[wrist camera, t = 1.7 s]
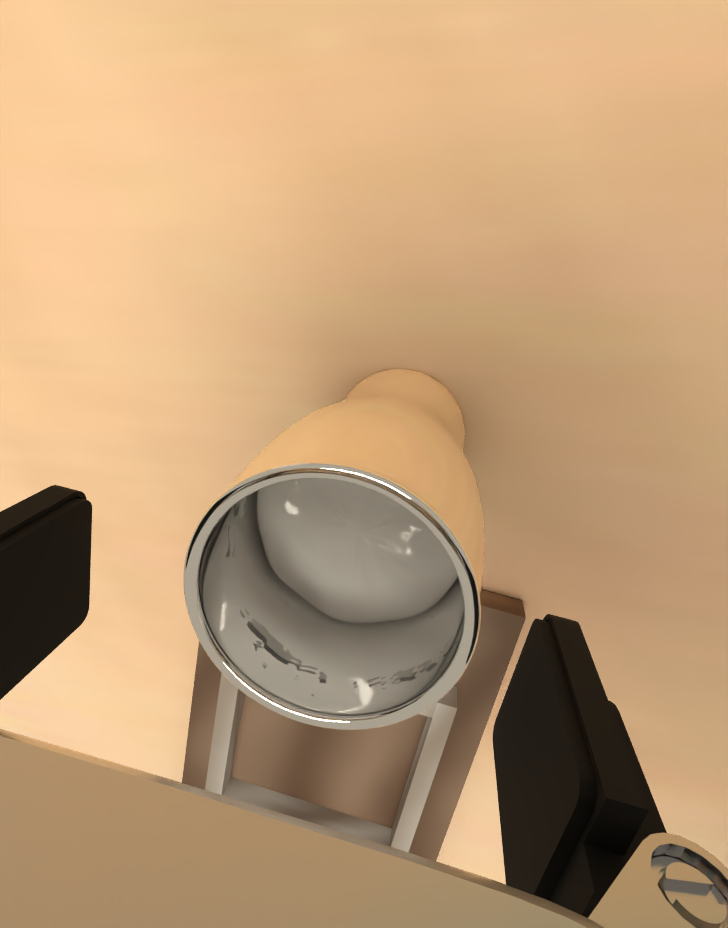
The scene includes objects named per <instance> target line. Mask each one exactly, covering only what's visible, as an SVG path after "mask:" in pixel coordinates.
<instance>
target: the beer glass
mask: <svg viewBox="0 0 728 928" xmlns="http://www.w3.org/2000/svg"><path fill="white" fill-rule="evenodd" d="M464 438H465V428H464V422H463V418H462V414H461V411H460V409H459V406H458V404H457V402H456V401H455V399H454V397H453V396H452V395H451V393H450V392H449V391H448V390H447V389H446V388H445V387H444V386H443V385H442V384H441V383H439V382H438V381H436V380H435V379H433V378H432V377H430V376H428V375H426V374H423V373H420V372H417V371H413V370H407V369H391V370H385V371H381V372H378V373H375V374H373V375H371V376H369V377H367V378H365V379H364V380H362V381H361V382H360V383H358V384H357V385H356V386H355V387H354V388H353V389H352V390H351V391H350V392H349V394H348V395H347V397H346V398H345V400H344V401H341V402H338V403H335V404H332V405H329V406H326V407H323V408H321V409H319V410H316V411H314V412H312V413H310V414H309V415H307V416H305V417H304V418H302V419H301V420H299V421H298V422H296V423H295V424H293V425H292V426H290V427H289V428H287V429H286V430H285V431H283V432H282V433H281V434H280V435H278V436H277V437H276V438H275V439H274V440H273V441H272V442H271V443H270V444H269V445H268V446H266V447H265V448H264V449H263V450H262V451H261V452H260V453H259V454H258V455H257V456H256V457H255V458H254V459H253V460H252V462H251V463H250V464H249V465H248V466H247V467H246V468H245V469H244V471H243V472H242V473H241V474H240V475H239V476H238V477H237V479H236V480H235V481H234V482H233V484H232V485H231V486H230V487H229V489H228V490H227V491H225V492H224V493H223V494H222V495H221V496H220V497H218V498H217V499H216V500H215V501H214V503H213V504H212V505H211V506H210V507H209V508H208V510H207V511H206V512H205V514H204V515H203V516H202V518H201V520H200V521H199V523H198V525H197V527H196V528H195V531H194V533H193V535H192V537H191V540H190V543H189V546H188V549H187V553H186V558H185V564H184V594H185V601H186V606H187V610H188V614H189V617H190V620H191V623H192V626H193V628H194V630H195V633H196V635H197V637H198V639H199V641H200V643H201V645H202V646H203V648H204V650H205V651H206V653H207V654H208V656H209V657H210V659H211V660H212V661H213V663H214V664H215V665H216V666H217V668H218V669H219V670H220V671H221V672H222V673H223V674H224V676H225V677H226V678H227V679H228V680H229V681H230V682H232V683H233V684H234V685H235V686H236V687H237V688H238V689H240V690H241V691H242V692H243V693H245V694H246V695H247V696H249V697H250V698H251V699H253V700H254V701H256V702H258V703H259V704H261V705H262V706H264V707H266V708H268V709H270V710H272V711H274V712H276V713H278V714H280V715H282V716H285V717H287V718H290V719H292V720H295V721H298V722H301V723H305V724H309V725H313V726H317V727H323V728H329V729H340V730H362V729H372V728H378V727H383V726H387V725H391V724H395V723H398V722H401V721H403V720H406V719H408V718H411V717H413V716H415V715H417V714H419V713H421V712H423V711H424V710H426V709H428V708H429V707H431V706H432V705H433V704H435V703H436V702H438V701H439V700H440V699H441V698H442V697H443V696H445V695H446V694H447V693H448V692H449V691H450V690H451V689H452V687H453V686H454V685H455V684H456V683H457V681H458V680H459V679H460V677H461V676H462V674H463V673H464V671H465V670H466V668H467V666H468V664H469V662H470V660H471V658H472V655H473V653H474V650H475V647H476V644H477V640H478V636H479V630H480V622H481V603H480V596H481V587H482V577H483V563H484V522H483V513H482V507H481V502H480V496H479V491H478V487H477V483H476V480H475V477H474V474H473V472H472V469H471V467H470V465H469V463H468V461H467V459H466V456H465V454H464V452H463V451H462V449H463V445H464Z"/></svg>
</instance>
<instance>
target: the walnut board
mask: <svg viewBox="0 0 728 928" xmlns="http://www.w3.org/2000/svg"><path fill="white" fill-rule="evenodd" d="M480 603H481V622H480V630H479V636H478V640H477V644H476V647H475V650H474V653H473V655H472V658H471V660H470V662H469V664H468V666H467V668H466V670H465V671H464V673H463V674H462V676H461V677H460V679H459V680H458V681H457V683H456V684H455V685H454V686H453V687H452V689H451V690H450V691H449V692H448V693H447V694H446V695H445V696H443V697H442V698H441V699H440V700H439V701H438V702H436V703H435V704H433V705H432V706H431V707H429V708H428V709H426V710H424V711H423V712H421V713H419V714H417V715H415V716H413V717H411V718H408V719H406V720H403V721H401V722H398V723H395V724H391V725H387V726H383V727H378V728H372V729H362V730H340V729H329V728H323V727H317V726H313V725H309V724H305V723H301V722H298V721H295V720H292V719H290V718H287V717H285V716H282V715H280V714H278V713H276V712H274V711H272V710H270V709H268V708H266V707H264V706H262V705H261V704H259V703H258V702H256V701H254V700H253V699H251V698H250V697H249V696H247V695H246V694H245V693H243V692H242V691H241V690H240V689H238V688H237V687H236V686H235V685H234V684H233V683H232V682H230V681H229V680H228V679H227V678H226V677H225V676H224V674H223V673H222V672H221V671H220V670H219V669H218V668H217V666H216V665H215V664H214V663H213V661H212V660H211V659H210V657H209V656H208V654H207V653H206V651H205V650H204V648H203V646H202V645H201V643H200V641H199V648H198V656H197V664H196V672H195V681H194V689H193V697H192V705H191V714H190V722H189V730H188V738H187V746H186V755H185V763H184V771H183V779H182V783H183V784H187V785H190V786H193V787H197V788H200V789H203V790H206V791H210V792H213V793H216V794H220V795H223V796H226V797H230V798H233V799H236V800H240V801H243V802H246V803H250V804H253V805H256V806H259V807H263V808H266V809H269V810H272V811H276V812H279V813H282V814H285V815H289V816H292V817H295V818H298V819H302V820H305V821H308V822H311V823H315V824H318V825H321V826H324V827H328V828H331V829H334V830H337V831H341V832H344V833H347V834H350V835H354V836H357V837H360V838H363V839H367V840H370V841H373V842H376V843H380V844H383V845H386V846H389V847H393V848H396V849H399V850H402V851H405V852H408V853H411V854H414V855H417V856H420V857H424V858H427V859H430V860H433V861H436V859H437V857H438V854H439V851H440V848H441V846H442V843H443V840H444V838H445V835H446V832H447V830H448V827H449V824H450V821H451V819H452V816H453V813H454V811H455V808H456V805H457V802H458V800H459V797H460V794H461V792H462V789H463V786H464V783H465V781H466V778H467V775H468V773H469V770H470V767H471V764H472V762H473V759H474V756H475V754H476V751H477V748H478V745H479V743H480V740H481V737H482V735H483V732H484V729H485V727H486V724H487V721H488V718H489V716H490V713H491V710H492V708H493V705H494V702H495V699H496V697H497V694H498V691H499V689H500V686H501V683H502V680H503V678H504V675H505V672H506V670H507V667H508V664H509V661H510V659H511V656H512V653H513V651H514V648H515V645H516V642H517V640H518V637H519V634H520V632H521V629H522V626H523V623H524V621H525V618H526V617H525V612H524V607H523V602H522V600H518V599H514V598H511V597H507V596H503V595H500V594H496V593H492V592H489V591H485V590H481V596H480Z"/></svg>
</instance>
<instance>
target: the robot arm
mask: <svg viewBox="0 0 728 928" xmlns="http://www.w3.org/2000/svg"><path fill="white" fill-rule="evenodd" d="M91 527H92V505H91V503H90V502H89V501H88V500H86V496H85V494H84V493H83V492H80V491H77V490H73V489H69V488H65V487H61V486H57V485H53V486H50V487H48V488H46V489H44V490H42V491H40V492H38V493H36V494H34V495H33V496H31V497H29V498H27V499H25V500H23V501H21V502H19V503H17V504H15V505H13V506H11V507H9V508H7V509H5V510H3V511H1V512H0V700H1V699H2V698H3V697H4V696H5V695H6V694H7V693H8V692H9V691H10V690H11V689H12V688H13V687H15V686H16V685H17V684H18V683H19V682H20V681H21V680H22V679H23V678H24V677H25V676H26V675H27V674H28V673H30V672H31V671H32V670H33V669H34V668H35V667H36V666H37V665H38V664H39V663H40V662H41V661H42V660H44V659H45V658H46V657H47V656H48V655H49V654H50V653H51V652H52V651H53V650H54V649H55V648H56V647H58V646H59V645H60V644H61V643H62V642H63V641H64V640H65V639H66V638H67V637H68V636H69V635H70V634H72V633H73V632H74V631H75V630H76V629H77V628H78V627H79V626H80V625H81V624H82V623H83V621H84V620H85V618H86V616H87V614H88V610H89V594H90V560H91ZM493 748H494V759H495V769H496V780H497V791H498V802H499V812H500V823H501V834H502V845H503V855H504V866H505V877H506V885H505V884H502V883H500V882H497V881H494V880H491V879H488V878H485V877H482V876H479V875H476V874H473V873H470V872H467V871H464V870H461V869H457V868H454V867H451V866H448V865H445V864H442V863H439V862H436V861H433V860H430V859H427V858H424V857H420V856H417V855H414V854H411V853H408V852H405V851H402V850H399V849H396V848H393V847H389V846H386V845H383V844H380V843H376V842H373V841H370V840H367V839H363V838H360V837H357V836H354V835H350V834H347V833H344V832H341V831H337V830H334V829H331V828H328V827H324V826H321V825H318V824H315V823H311V822H308V821H305V820H302V819H298V818H295V817H292V816H289V815H285V814H282V813H279V812H276V811H272V810H269V809H266V808H263V807H259V806H256V805H253V804H250V803H246V802H243V801H240V800H236V799H233V798H230V797H226V796H223V795H220V794H216V793H213V792H210V791H206V790H203V789H200V788H197V787H193V786H190V785H187V784H183V783H180V782H177V781H173V780H170V779H167V778H163V777H160V776H157V775H153V774H150V773H147V772H143V771H140V770H137V769H133V768H130V767H127V766H123V765H120V764H117V763H113V762H110V761H107V760H103V759H100V758H97V757H93V756H90V755H87V754H83V753H80V752H77V751H73V750H70V749H67V748H63V747H60V746H56V745H53V744H49V743H46V742H43V741H39V740H36V739H32V738H29V737H26V736H22V735H19V734H15V733H12V732H9V731H5V730H2V729H0V928H728V869H727V868H726V867H725V866H724V865H723V864H722V863H721V862H720V861H719V860H718V859H717V858H716V857H715V856H713V855H712V854H710V853H709V852H707V851H706V850H705V849H703V848H702V847H700V846H699V845H697V844H696V843H694V842H691V841H689V840H687V839H685V838H683V837H681V836H678V835H673V834H669V833H667V832H666V830H665V827H664V825H663V822H662V820H661V817H660V815H659V812H658V810H657V807H656V804H655V802H654V799H653V797H652V794H651V792H650V789H649V787H648V784H647V782H646V779H645V776H644V774H643V771H642V769H641V766H640V764H639V761H638V759H637V756H636V754H635V751H634V748H633V746H632V743H631V741H630V738H629V736H628V733H627V731H626V728H625V726H624V723H623V720H622V718H621V715H620V713H619V711H618V709H617V707H616V705H615V704H614V703H612V702H611V701H608V699H607V696H606V694H605V691H604V688H603V686H602V683H601V680H600V678H599V675H598V673H597V670H596V667H595V665H594V662H593V659H592V657H591V654H590V651H589V649H588V646H587V643H586V641H585V638H584V635H583V633H582V630H581V627H580V625H579V623H578V622H576V621H573V620H569V619H565V618H562V617H558V616H554V615H550V614H548V615H546V616H545V617H544V619H543V620H540V619H535V620H534V621H533V623H532V626H531V628H530V631H529V634H528V636H527V639H526V642H525V644H524V647H523V649H522V652H521V655H520V657H519V660H518V663H517V665H516V668H515V671H514V673H513V676H512V678H511V681H510V684H509V686H508V689H507V692H506V694H505V697H504V700H503V702H502V705H501V708H500V710H499V713H498V715H497V718H496V721H495V725H494V730H493Z"/></svg>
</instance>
